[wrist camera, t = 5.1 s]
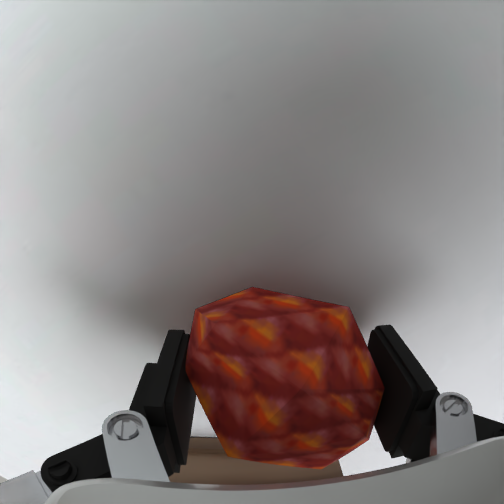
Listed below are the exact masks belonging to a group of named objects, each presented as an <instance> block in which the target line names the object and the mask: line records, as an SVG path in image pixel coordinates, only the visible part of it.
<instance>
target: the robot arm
mask: <svg viewBox="0 0 504 504" xmlns="http://www.w3.org/2000/svg"><path fill="white" fill-rule="evenodd" d="M189 338H190V334H185V331H184V330H169V331H168V334H167V336H166V339H165V342H164V345H163V348H162V351H161V353H160V356H159V359H158V362H157V363H147V364H146V366H145V368H144V371H143V374H142V376H141V379H140V381H139V384H138V387H137V390H136V392H135V395H134V398H133V400H132V403H131V406H130V409H129V410H123V411H118V412H115V413H113V414H111V415H109V416H108V417H107V418H106V419H105V420H104V423H103V425H102V433H103V434H101V435H99V436H97V437H95V438H93V439H90V440H88V441H86V442H84V443H81V444H79V445H77V446H74V447H72V448H70V449H67V450H65V451H62V452H60V453H58V454H55V455H53V456H51V457H49V458H48V459H47V460H46V461H45V462H44V463H43V465H42V467H41V471H39V472H37V473H35V472H34V471H33V470H32V471H30V472H27V473H25V474H23V475H20V476H18V477H15V478H13V479H10V480H8V481H5V482H3V483H0V504H504V424H503V423H500V422H497V421H494V420H491V419H487V418H484V417H481V416H478V415H475V414H473V411H472V406H471V403H470V401H469V400H468V399H467V398H466V397H464V396H463V395H461V394H459V393H455V392H446V393H442V394H441V395H440V393H439V392H438V390H437V387H436V386H435V384H434V383H433V381H432V380H431V379H430V377H429V376H428V374H427V373H426V372H425V370H424V369H423V367H422V366H421V365H420V363H419V362H418V360H417V359H416V358H415V356H414V355H413V354H412V352H411V351H410V350H409V348H408V347H407V345H406V344H405V343H404V341H403V340H402V339H401V337H400V336H399V335H398V333H397V332H396V331H395V329H394V328H393V327H392V326H391V325H381V326H376V328H375V330H372V331H371V333H370V338H369V342H368V347H367V348H368V350H369V352H370V354H371V357H372V359H373V361H374V364H375V366H376V368H377V371H378V373H379V375H380V378H381V380H382V383H383V385H384V387H385V389H384V392H383V396H382V399H381V403H380V406H379V410H378V413H377V416H376V419H375V422H374V426H375V428H376V431H377V433H378V436H379V438H380V440H381V443H382V445H383V448H384V450H385V451H386V452H388V451H389V453H390V455H391V458H396V457H400V456H404V457H406V458H407V459H406V464H402V465H398V466H394V467H390V468H385V469H381V470H376V471H371V472H366V473H361V474H355V475H349V476H343V477H337V478H330V479H322V480H314V481H304V482H293V483H279V484H259V485H213V484H190V483H175V482H170V480H169V478H168V477H169V476H171V475H173V474H174V473H180V467H181V465H186V463H187V456H188V449H189V442H190V435H191V427H192V420H193V414H194V407H195V400H196V393H195V391H194V389H193V386H192V384H191V382H190V380H189V378H188V376H187V373H186V371H185V365H186V356H187V349H188V343H189Z"/></svg>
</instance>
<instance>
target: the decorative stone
mask: <svg viewBox="0 0 504 504" xmlns="http://www.w3.org/2000/svg"><path fill="white" fill-rule="evenodd" d="M185 371H186V373H187V376H188V378H189V380H190V382H191V384H192V386H193V389H194V391H195V393H196V395H197V397H198V399H199V401H200V403H201V405H202V407H203V409H204V412H205V414H206V416H207V418H208V420H209V422H210V424H211V425H212V427H213V429H214V431H215V433H216V435H217V437H218V439H219V441H220V443H221V445H222V447H223V448H224V450H225V452H226V454H227V456H228V457H232V458H238V459H243V460H249V461H255V462H261V463H268V464H275V465H283V466H291V467H301V468H312V469H323V468H325V467H326V466H328V465H330V464H332V463H333V462H335V461H337V460H338V459H340V458H341V457H343V456H345V455H346V454H348V453H349V452H351V451H353V450H354V449H356V448H357V447H359V446H360V445H362V444H363V443H365V442H366V441H368V440H369V438H370V435H371V432H372V429H373V426H374V422H375V419H376V416H377V413H378V410H379V406H380V403H381V399H382V396H383V392H384V389H385V387H384V385H383V383H382V380H381V378H380V375H379V373H378V371H377V368H376V366H375V364H374V361H373V359H372V357H371V354H370V352H369V350H368V348H367V345H366V343H365V341H364V339H363V336H362V334H361V332H360V330H359V327H358V325H357V323H356V321H355V319H354V316H353V314H352V312H351V310H350V308H349V307H347V306H342V305H336V304H331V303H326V302H321V301H317V300H312V299H307V298H302V297H297V296H292V295H288V294H283V293H278V292H274V291H269V290H264V289H260V288H255V287H251V288H248V289H246V290H243V291H241V292H238V293H236V294H233V295H231V296H228V297H225V298H223V299H220V300H218V301H215V302H212V303H210V304H207V305H205V306H202V307H199V308H197V309H195V313H194V318H193V323H192V328H191V333H190V338H189V343H188V349H187V356H186V365H185Z"/></svg>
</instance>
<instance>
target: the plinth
mask: <svg viewBox="0 0 504 504" xmlns="http://www.w3.org/2000/svg"><path fill="white" fill-rule="evenodd" d="M337 477H343V473H342V470H341V467H340V463H339V460H337V461H335V462H333V463H332V464H330V465H328V466H326V467H325V468H323V469H312V468H301V467H291V466H283V465H275V464H268V463H261V462H255V461H249V460H243V459H238V458H232V457H228V456H227V454H226V452H225V450H224V448H223V447H222V445H221V443H220V441H219V439H218V438H197V437H190V442H189V449H188V456H187V463H186V465H181V467H180V473H174V474H173V475H171V476H169V477H168V478H169V480H170V482H175V483H190V484H213V485H259V484H279V483H293V482H304V481H314V480H322V479H330V478H337Z"/></svg>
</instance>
